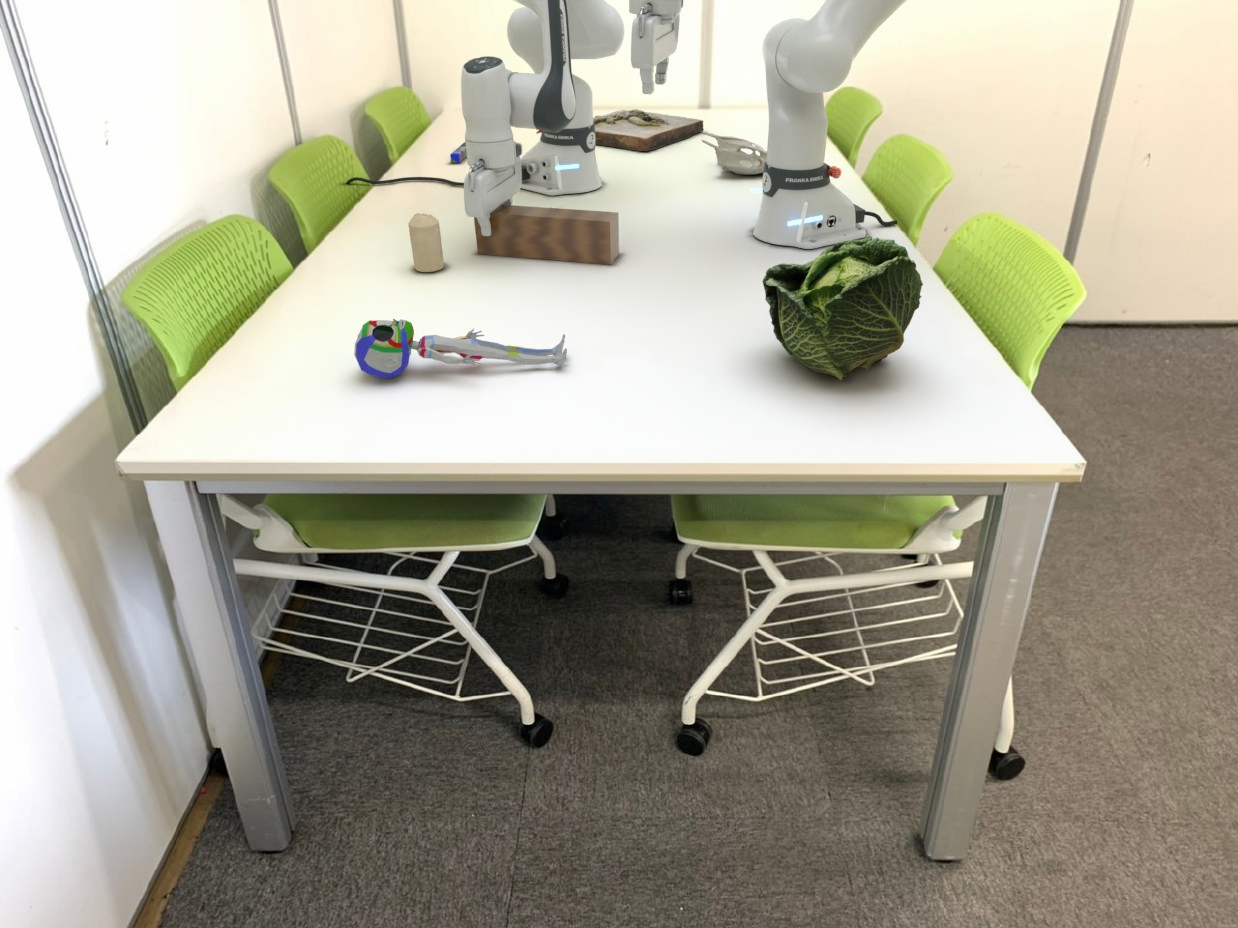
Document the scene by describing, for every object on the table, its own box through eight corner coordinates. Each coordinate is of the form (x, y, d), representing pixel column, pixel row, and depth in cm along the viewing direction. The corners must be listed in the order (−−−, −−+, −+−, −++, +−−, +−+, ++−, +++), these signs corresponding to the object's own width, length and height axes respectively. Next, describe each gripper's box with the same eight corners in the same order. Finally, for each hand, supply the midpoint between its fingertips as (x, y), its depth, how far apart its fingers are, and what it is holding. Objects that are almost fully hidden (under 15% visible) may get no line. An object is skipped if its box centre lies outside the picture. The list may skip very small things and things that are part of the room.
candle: (449, 263, 170) (443, 211, 164) (435, 273, 165) (428, 220, 160) (423, 261, 171) (416, 208, 166) (409, 270, 167) (401, 217, 161)
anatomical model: (704, 128, 226) (804, 127, 222) (703, 165, 231) (801, 165, 227) (699, 142, 214) (805, 141, 210) (699, 181, 219) (803, 181, 215)
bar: (477, 254, 175) (473, 212, 170) (489, 244, 180) (485, 203, 175) (610, 265, 168) (609, 221, 164) (619, 254, 173) (618, 212, 169)
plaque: (647, 125, 237) (559, 112, 252) (647, 153, 241) (560, 139, 256) (706, 107, 258) (622, 97, 273) (705, 133, 262) (622, 121, 277)
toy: (569, 347, 126) (349, 329, 122) (563, 400, 131) (350, 385, 126) (565, 318, 135) (359, 301, 130) (559, 369, 139) (360, 354, 134)
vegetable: (793, 390, 139) (734, 280, 131) (892, 320, 140) (840, 208, 132) (858, 421, 121) (795, 296, 113) (972, 341, 122) (917, 212, 114)
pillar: (477, 137, 250) (458, 155, 233) (478, 145, 251) (458, 163, 234) (469, 137, 250) (449, 154, 233) (470, 145, 251) (450, 163, 235)
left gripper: (484, 168, 157) (491, 245, 164) (525, 143, 174) (530, 214, 181) (451, 166, 158) (459, 243, 166) (495, 141, 175) (500, 212, 182)
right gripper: (659, 7, 142) (658, 100, 149) (685, -5, 158) (683, 79, 166) (620, 7, 143) (622, 99, 151) (650, -5, 160) (650, 78, 167)
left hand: (496, 227), depth 174 cm, fingers open, 8 cm apart
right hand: (654, 88), depth 158 cm, fingers open, 8 cm apart
